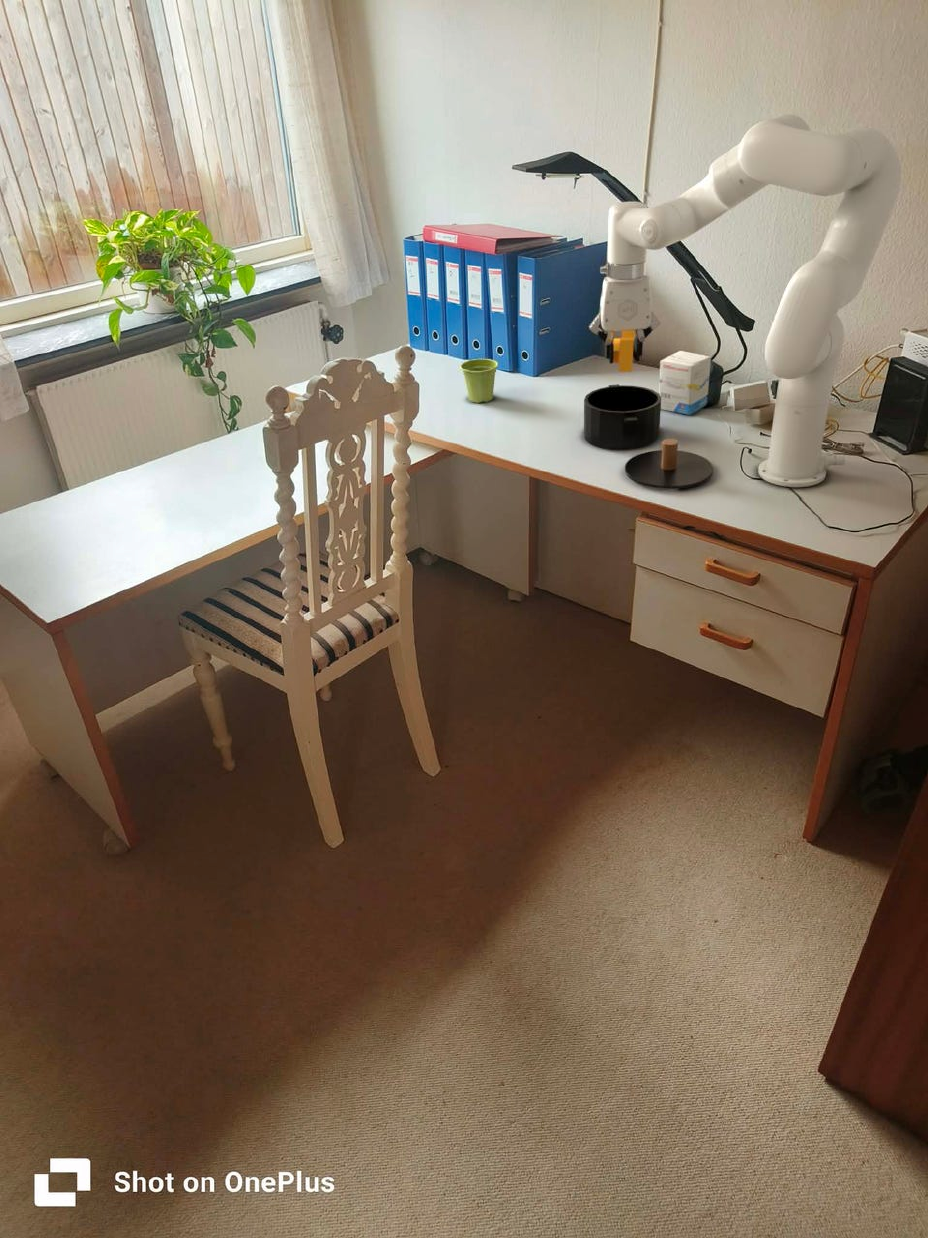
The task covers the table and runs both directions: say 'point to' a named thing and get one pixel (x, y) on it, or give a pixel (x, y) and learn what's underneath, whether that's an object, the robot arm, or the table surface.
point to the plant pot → (479, 378)
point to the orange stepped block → (624, 350)
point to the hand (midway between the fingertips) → (623, 359)
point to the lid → (669, 468)
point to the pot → (622, 417)
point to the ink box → (684, 382)
